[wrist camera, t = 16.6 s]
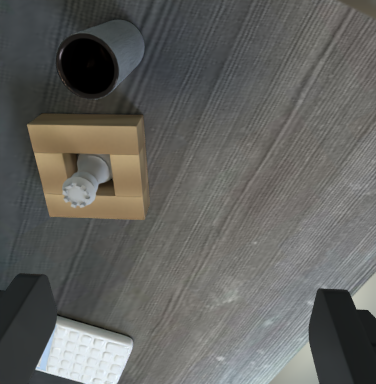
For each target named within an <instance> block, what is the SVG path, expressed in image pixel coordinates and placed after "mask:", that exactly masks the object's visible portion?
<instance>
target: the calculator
mask: <svg viewBox="0 0 376 384" xmlns="http://www.w3.org/2000/svg"><path fill="white" fill-rule="evenodd" d="M132 348H133V340H132V339H131V338H130V337H127V336H124V335H121V334H118V333H114V332H111V331H108V330H104V329H101V328H97V327H94V326H91V325H87V324H84V323H80V322H77V321H74V320H70V319H67V318H63V317H60V316H57V321H56V325H55V329H54V331H53V333H52V335H51V337H50V339H49V342H48V344H47V346H46V348H45V350H44V352H43V354H42V356H41V358H40V360H39V363H38V365H37V367H36V369H35V370H39V371H42V372H46V373H49V374H53V375H57V376H60V377H64V378H68V379H71V380H75V381H79V382H82V383H86V384H117V383H118V380H119V378H120V376H121V374H122V371H123V369H124V367H125V364H126V362H127V360H128V358H129V355H130V353H131V351H132Z"/></svg>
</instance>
